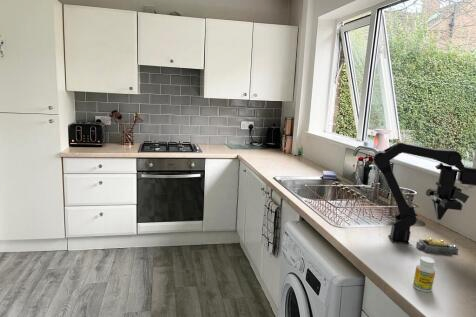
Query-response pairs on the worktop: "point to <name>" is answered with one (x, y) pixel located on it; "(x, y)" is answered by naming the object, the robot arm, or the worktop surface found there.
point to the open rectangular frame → (437, 248)
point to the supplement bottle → (424, 274)
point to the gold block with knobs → (435, 242)
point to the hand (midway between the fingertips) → (438, 219)
